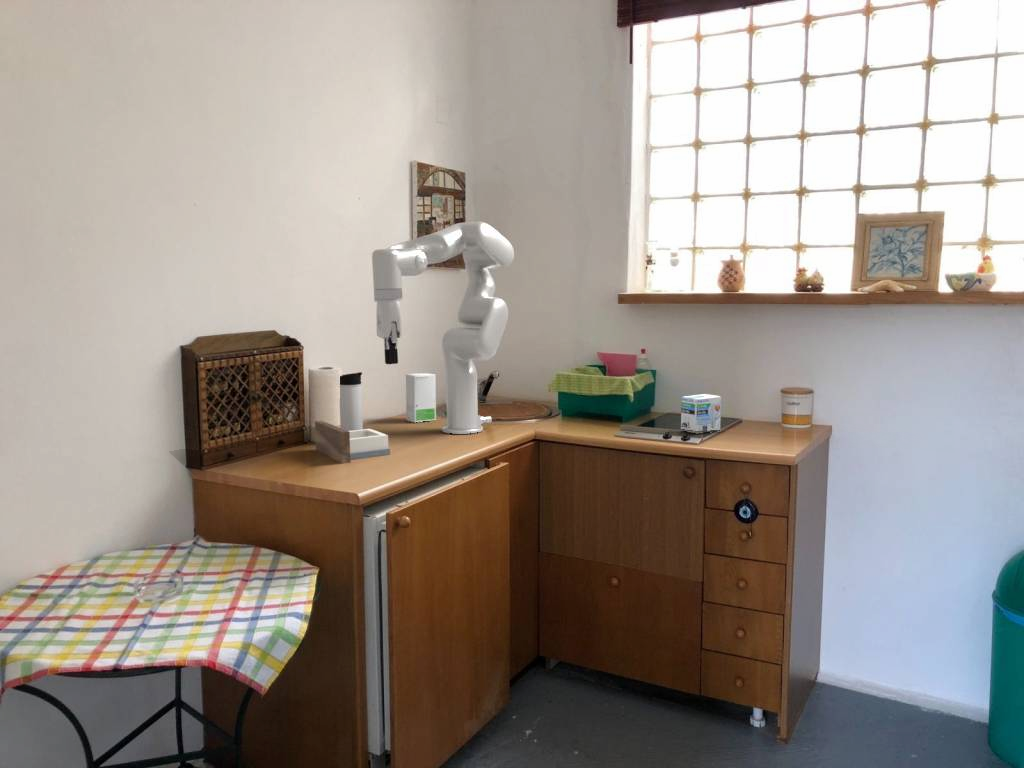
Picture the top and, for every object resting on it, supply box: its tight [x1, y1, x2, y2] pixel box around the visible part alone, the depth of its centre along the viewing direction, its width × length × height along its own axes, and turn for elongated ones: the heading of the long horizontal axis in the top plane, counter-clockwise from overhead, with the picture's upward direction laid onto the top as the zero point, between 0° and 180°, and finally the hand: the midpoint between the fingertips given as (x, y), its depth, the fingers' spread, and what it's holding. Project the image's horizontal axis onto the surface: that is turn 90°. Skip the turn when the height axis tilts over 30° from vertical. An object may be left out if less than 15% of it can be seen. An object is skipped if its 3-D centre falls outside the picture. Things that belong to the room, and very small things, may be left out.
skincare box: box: [405, 373, 437, 424], centre depth 262 cm, size 8×7×16 cm
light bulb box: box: [680, 393, 722, 431], centre depth 240 cm, size 11×7×11 cm, turn 123°
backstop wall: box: [314, 420, 351, 464], centre depth 209 cm, size 2×20×8 cm, turn 33°
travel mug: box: [339, 371, 364, 431], centre depth 228 cm, size 6×7×20 cm
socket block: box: [349, 428, 391, 461], centre depth 213 cm, size 12×14×5 cm
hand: (391, 363), depth 216 cm, fingers closed
